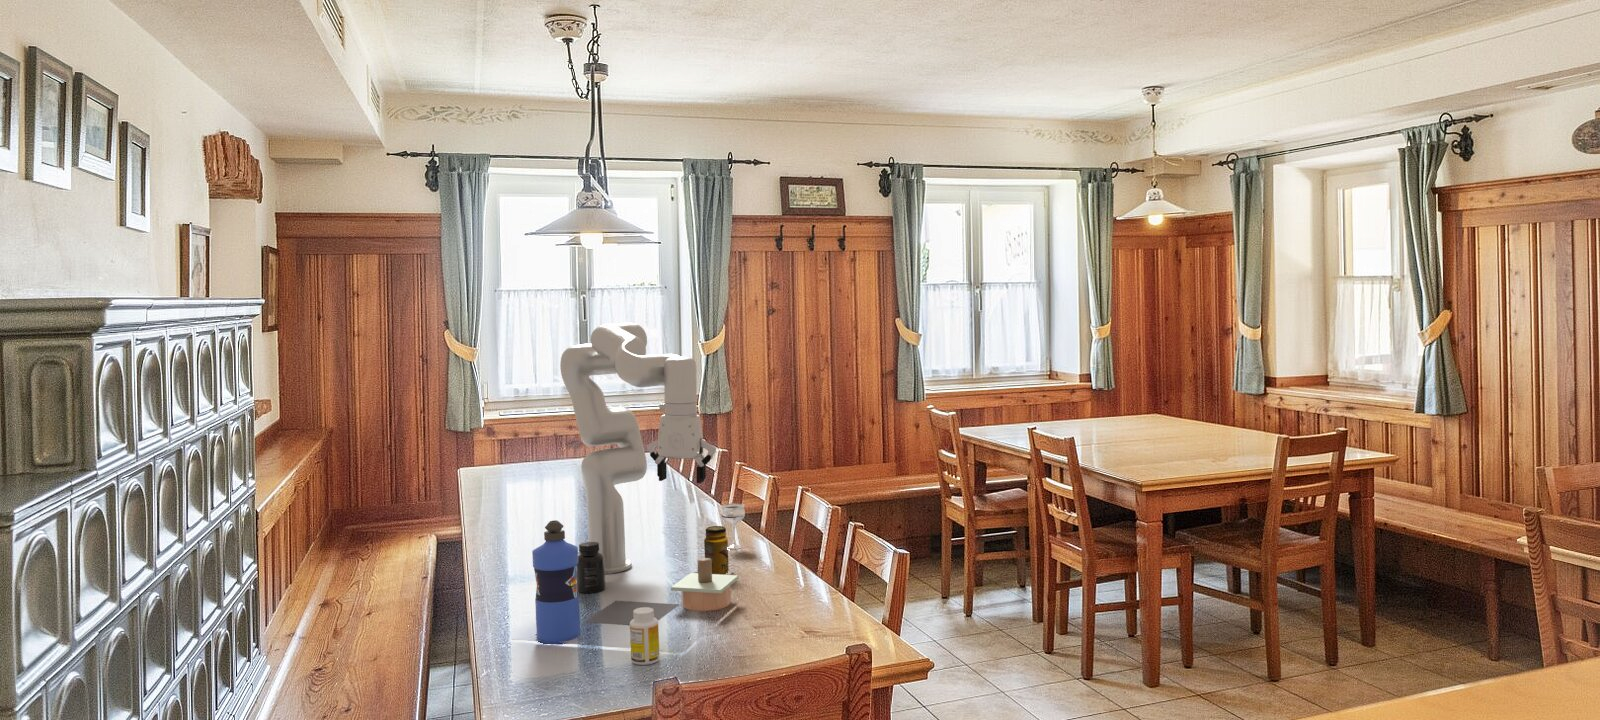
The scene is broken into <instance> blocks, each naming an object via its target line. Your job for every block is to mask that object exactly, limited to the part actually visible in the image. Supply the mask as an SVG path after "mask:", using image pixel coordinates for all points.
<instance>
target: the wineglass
mask: <svg viewBox="0 0 1600 720" xmlns="http://www.w3.org/2000/svg"><path fill="white" fill-rule="evenodd" d="M720 507H721V508H722V509H721V515H720V516H721V518H722V520H724V521H725V523H727V524H730V526H731V527H732V529H731V531H732V543H733V544H731V545H728V548H739V547H741V546H742V545H739V544H735V543H736V540H735V539H736V536H735V535H736V533H735V532H736V526H737V524H739V523H740V522H742V521H743V520H744V518H745V516H746V511H745V509H744V508H745V504H744V503H738V502H737V503H735V502H734V503H733V502H732V503H725V504H722V505H721V506H720Z"/></svg>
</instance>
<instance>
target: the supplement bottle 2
mask: <svg viewBox="0 0 1600 720" xmlns="http://www.w3.org/2000/svg"><path fill="white" fill-rule="evenodd" d="M659 635H660V634H659V620H657V619H656V618H655V617H654V610H653V609H652V608H649V607H642V608H637V609H635V610H634V611H633V619H632V620H631V621H630V625H629V639H630V657H631V662H632V663H633V664H634V665H639V666H647V665H652V664H655V663H657V662H658V661H659V660H660V636H659Z"/></svg>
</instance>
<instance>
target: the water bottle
mask: <svg viewBox="0 0 1600 720" xmlns="http://www.w3.org/2000/svg"><path fill="white" fill-rule="evenodd" d="M563 528H564V524H563V523H561V522H560V521H559V520H550V521H549V522H548V523H547V524H546V525H545V526H544V529H545V530H546V531H544V532H543V535H544V541H545V542H544V543H543V544H542V545H540V546H538V547H536V548H535V549H533V550H532V566H533V570H534V577H535V582H536V590H535V592H536V593H535V598H534V599H535V600H534V601H535V604H534V605H535V622H536V623H535V625H536V626H535V627H536V629H535V630H536V639H537V641H538V642H540V643H543V644H542V645H544V644H561V645H564V644H563V643H564V642H567V641H570V640H571V641H572V640H575V639H576V638H578V637H579V636H581V633H582V631H581V614H580V613H581V609H580V595H579V594H580V593H578V588H577V580H576V578H577V565H578V551H579V546H576V545H574V544H572V543H569V542H567V541H566V540H565V539H566V532H565V530H564V529H563ZM538 642H537V643H538ZM540 643H539V644H540Z"/></svg>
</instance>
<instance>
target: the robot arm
mask: <svg viewBox="0 0 1600 720" xmlns="http://www.w3.org/2000/svg"><path fill="white" fill-rule="evenodd" d="M589 340H590V343H583V344H576V345H572V346H570V347H567V348H566V349H565V350H564V351H562V353H561V357H560V367H559V368H560V375H561V378H562V381H563V384H564V386H565V387H566V390H567V392H568V394H569V397H570V399H571V402H572V403H571V404H572V407H573V411H574V416H575V421H576V424H577V425H576V426H577V428H578V433H579V436H580V439H581V441H582V443H583V444H584V445H585V446H587V447H600V446H610V445H616V444H617V446H618V447H614V448H613V447H612V448H603V449H598V450H595V451H591V452H589V453H588V454H587V455H585V456H584V457H583V459H582V462H581V475H582V478H583V479H582V480H583V484H584V490H585V497H586V498H585V499H586V515H587V539H588V540H587V542H598V543H599V549H600V550H599V553H601V554H602V555H603V557H604V570H605V575H606V574H616V573H621V572H624V571H627V570H629V569H630V568H632V566H633V564H632V560H630V559H628V558H627V557H626V535H625V534H626V533H625V511H624V509H625V507H624V500H623V497H622V496H621V494H620V492H619V491H618V490H617V489H616V487H615V486H617V485H619V484H620V485H621V484H625V483H631V482H636V481H640V480H642V479H643V478H644V477H645V475H646V473H647V470H648V463H647V456H646V453H645V448H644V443H643V439H642V435H641V430H640V426H639V422H638V420H637V418H636V416H635V415H634V414H635V413H633V411H631V410H630V409H628V408H625V407H616V408H608V406H607V403H606V400H605V395H604V393H603V390H602V389H601V387H600V386H599V385H598V384H597V383H596V382H595V381H594V380H593V379H591V378H590V376H601V375H615V374H617V376H618V377H619V378H620V379H621V380H622V381H623V382H626V383H627V384H629V385H631V386H633V387H637V388H649V387H659V386H663V389H664V402H663V403H660V404H659V410H662V411H663V414H662V415H661V416H660V420H659V427H658V434H657V435H658V437H657V439H656V440H653V441H652V442H650V443H648V444H646V449H647V451H648V453H649V456H650V457H651V459H652V460H653V461H654V463H655V464H656V467H657V469H656V473H657V478H658V481H659V482H662V481H664V480H666V479H667V476H668V475H667V473H668V472H667V465H668V464H667V462H666V461H665V460H667V459H678V460H679V459H682V460H694V461H695V462H696V464H697V465H698V466H697V467H696V483H697V484H702V483H704V481H705V480H706V477H707V475H706V474H707V473H706V472H707V471H706V470H707V469H706V468H707V467H706V465H707V464H708V463H709V462H710V461H712V459H713V457H714V456H715V454H716V451H717V447H715V446H714V445H713V444H710V442H707V441H705V440H704V436H703V435H704V434H703V428H702V422H701V417H700V414H698V412H697V411H698V407H697V405H698V403H697V399H698V398H697V392H698V391H697V362H696V360H695V358H692V357H691V356H690V357H688V356H682V355H681V356H680V355H679V354H676V353H675V354H674V353H664V354H663V353H661V354H659V353H658V354H647V343H648V337H647V333H646V331H645V329H644V328H643V327H642V326H641V325H639V324H637V323H633V322H624V323H623V322H622V323H619V322H618V323H605V324H601V325H599V326H597V327H596V328H595V329H594V330H593V331H592V332H591V335H590V339H589ZM656 447H657V450H656ZM704 449H705V450H706V451H707V454H706V456H704V455H703V453H704ZM578 555H580V553H579V550H578Z"/></svg>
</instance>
